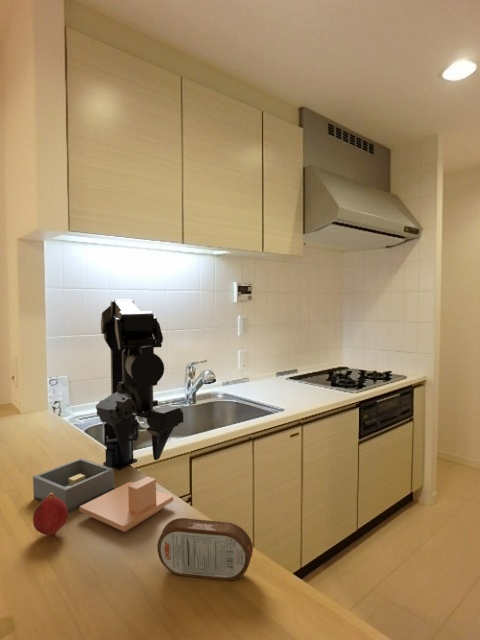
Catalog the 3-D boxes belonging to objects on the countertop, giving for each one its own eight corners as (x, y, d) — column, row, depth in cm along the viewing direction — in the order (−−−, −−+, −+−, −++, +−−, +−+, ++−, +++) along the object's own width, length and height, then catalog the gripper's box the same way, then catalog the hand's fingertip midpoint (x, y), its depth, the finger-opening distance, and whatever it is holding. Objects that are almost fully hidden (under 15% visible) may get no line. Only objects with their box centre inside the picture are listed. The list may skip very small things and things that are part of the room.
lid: (130, 492, 91) (129, 459, 90) (173, 507, 84) (172, 472, 83) (79, 518, 80) (78, 481, 80) (124, 539, 73) (122, 499, 72)
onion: (33, 548, 71) (32, 504, 70) (33, 531, 76) (32, 490, 75) (69, 539, 73) (68, 496, 73) (67, 523, 78) (65, 483, 78)
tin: (253, 573, 64) (252, 521, 63) (250, 587, 61) (249, 532, 60) (162, 563, 66) (161, 513, 66) (155, 576, 63) (154, 524, 63)
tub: (81, 478, 98) (81, 458, 98) (114, 490, 92) (113, 469, 92) (33, 498, 88) (32, 476, 88) (66, 514, 82) (65, 490, 82)
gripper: (71, 378, 77) (74, 458, 78) (139, 389, 67) (142, 481, 67) (118, 369, 86) (120, 441, 87) (184, 378, 76) (186, 459, 77)
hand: (139, 454), depth 79 cm, fingers open, 9 cm apart
